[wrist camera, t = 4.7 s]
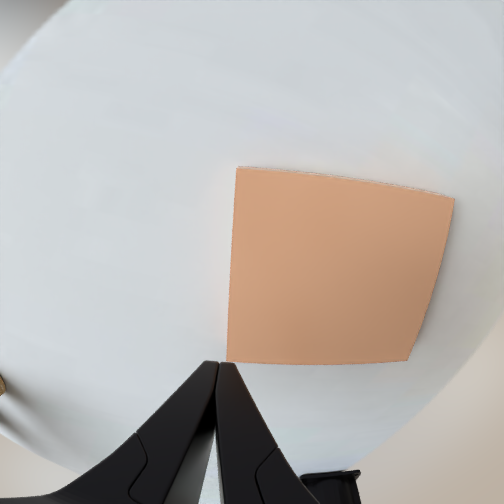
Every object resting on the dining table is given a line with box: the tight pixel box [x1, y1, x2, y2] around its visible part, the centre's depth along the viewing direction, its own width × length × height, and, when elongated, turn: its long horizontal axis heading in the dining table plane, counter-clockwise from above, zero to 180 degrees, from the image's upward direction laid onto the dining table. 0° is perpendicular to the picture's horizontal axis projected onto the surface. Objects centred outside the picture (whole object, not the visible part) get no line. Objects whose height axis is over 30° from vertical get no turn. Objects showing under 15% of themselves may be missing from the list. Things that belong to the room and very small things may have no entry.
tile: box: [226, 166, 455, 365], centre depth 15 cm, size 2×10×11 cm
